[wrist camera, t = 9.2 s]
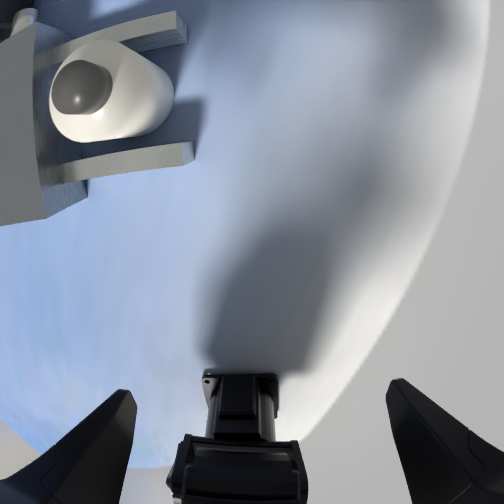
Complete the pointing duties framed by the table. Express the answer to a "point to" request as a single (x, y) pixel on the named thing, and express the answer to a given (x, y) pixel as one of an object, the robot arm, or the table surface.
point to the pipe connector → (10, 15)
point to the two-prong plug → (43, 128)
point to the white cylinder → (109, 93)
